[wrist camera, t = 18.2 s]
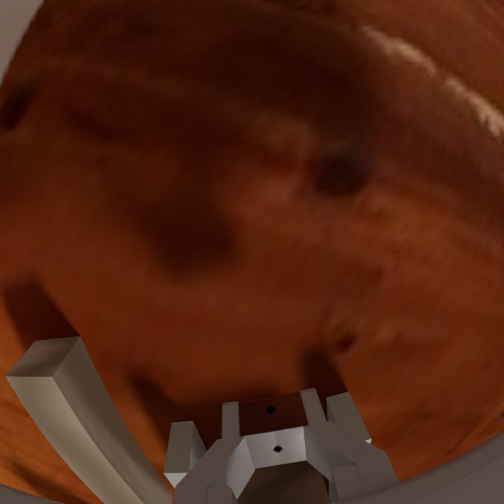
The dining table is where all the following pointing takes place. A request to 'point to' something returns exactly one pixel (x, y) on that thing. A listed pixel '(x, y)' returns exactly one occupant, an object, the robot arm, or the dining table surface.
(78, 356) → the rod
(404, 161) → the dining table surface
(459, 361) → the dining table surface
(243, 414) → the robot arm
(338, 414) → the channel
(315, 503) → the block
